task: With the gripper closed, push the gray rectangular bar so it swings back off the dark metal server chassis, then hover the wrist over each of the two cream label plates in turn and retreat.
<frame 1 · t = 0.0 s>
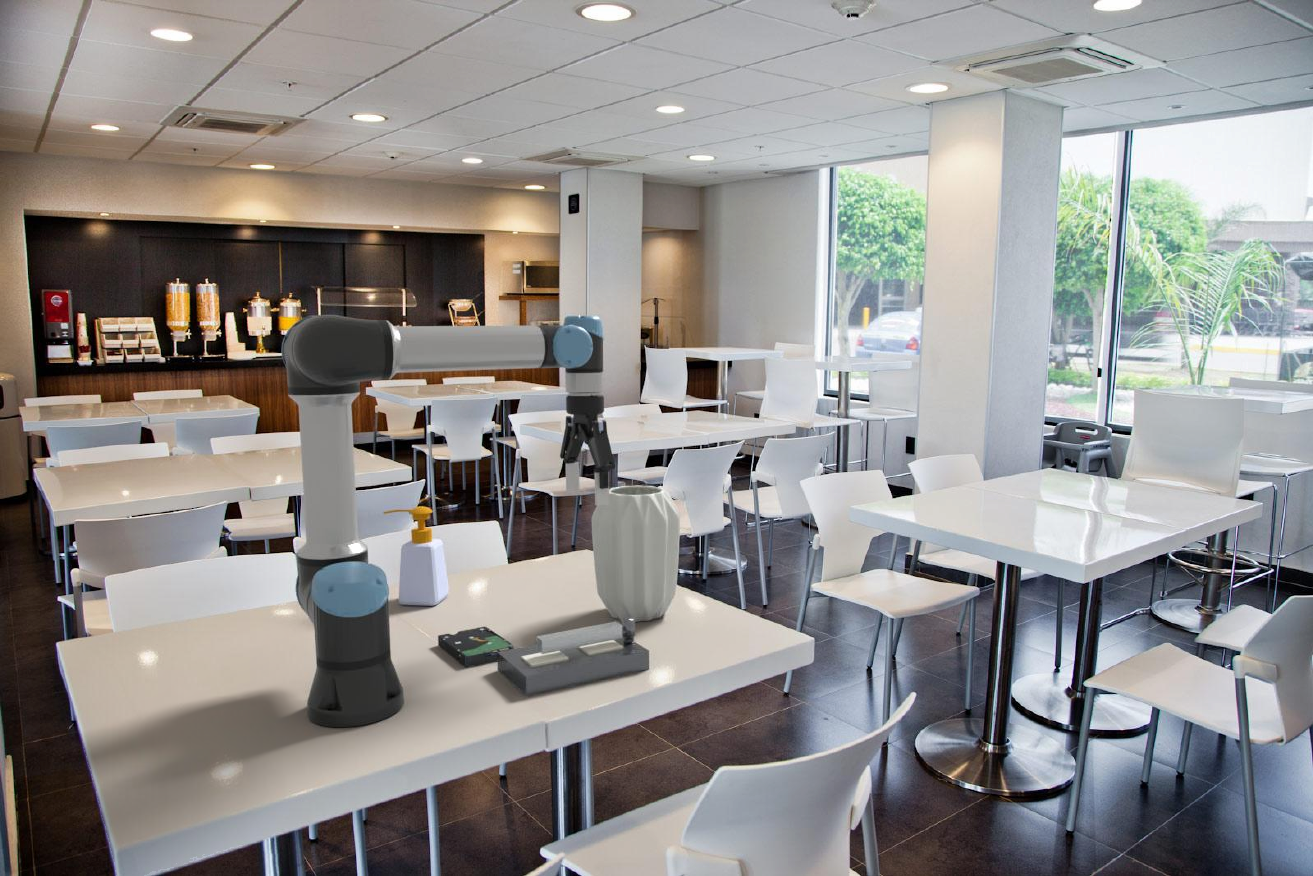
hand: (587, 499, 183), 28 cm above the table, fingers open, 13 cm apart
gray rectangular bar: (588, 635, 166), point 6 cm above the table, hinge at 0.0°
vase: (637, 614, 199), on the table
chassis: (573, 669, 167), on the table
soap bottle: (415, 601, 211), on the table
label A: (544, 659, 162), resting on chassis
label B: (600, 648, 168), resting on chassis
disk drive: (476, 654, 177), on the table
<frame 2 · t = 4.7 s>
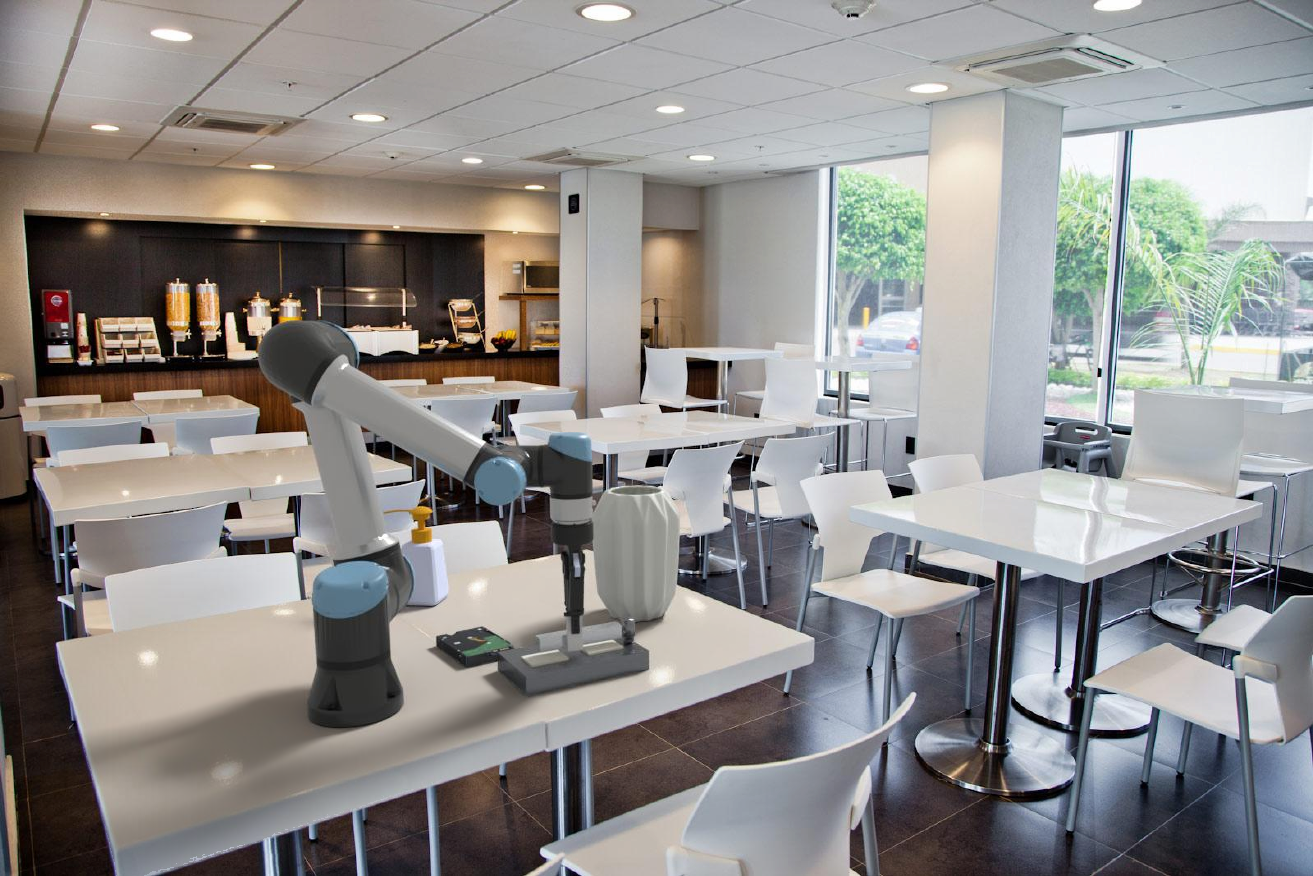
hand: (574, 649, 163), 5 cm above the table, fingers closed
gray rectangular bar: (587, 634, 167), point 6 cm above the table, hinge at 2.5°, touching gripper
everything else where it was.
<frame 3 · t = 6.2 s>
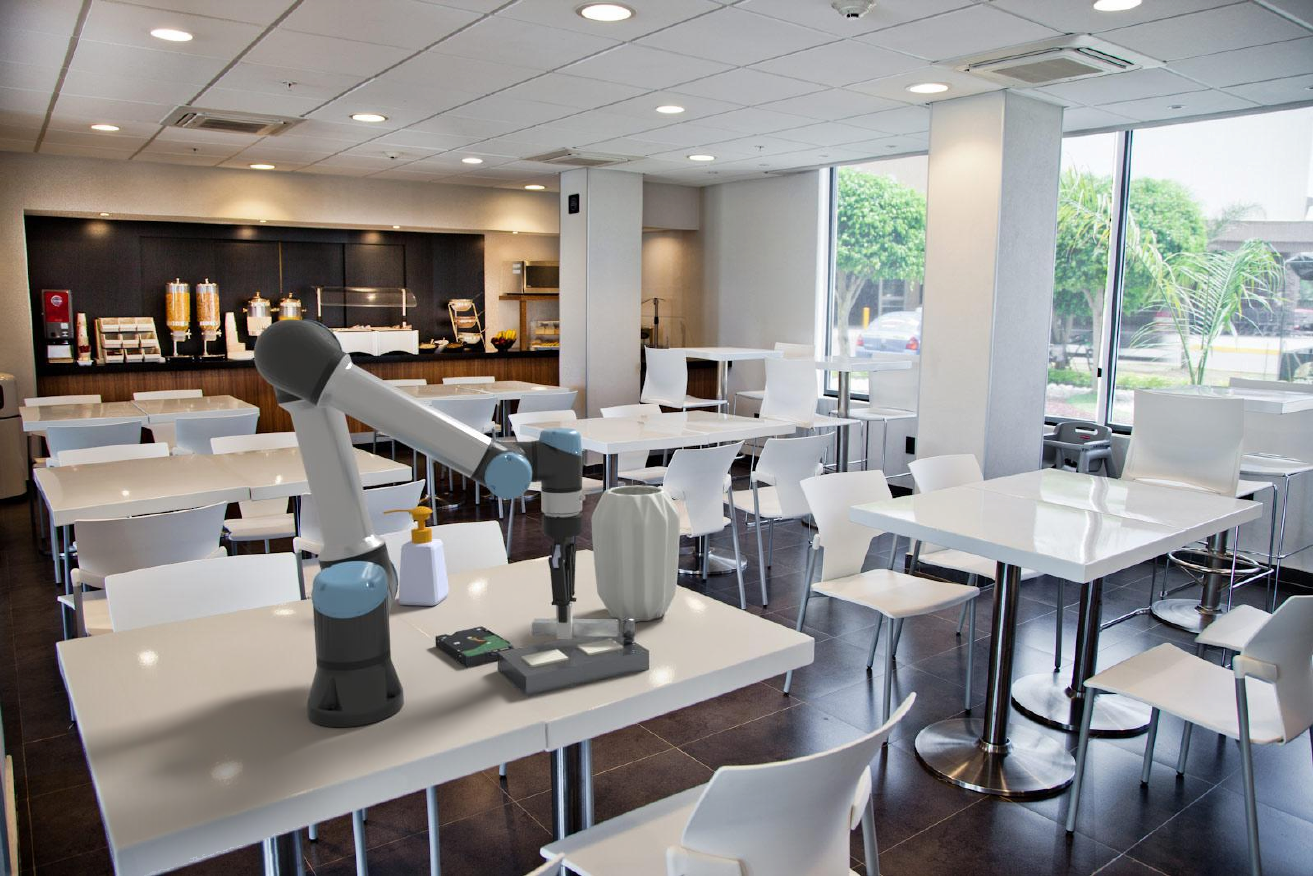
hand: (564, 637, 169), 5 cm above the table, fingers closed
gray rectangular bar: (584, 627, 171), point 6 cm above the table, hinge at 33.6°, touching gripper
everything else where it was.
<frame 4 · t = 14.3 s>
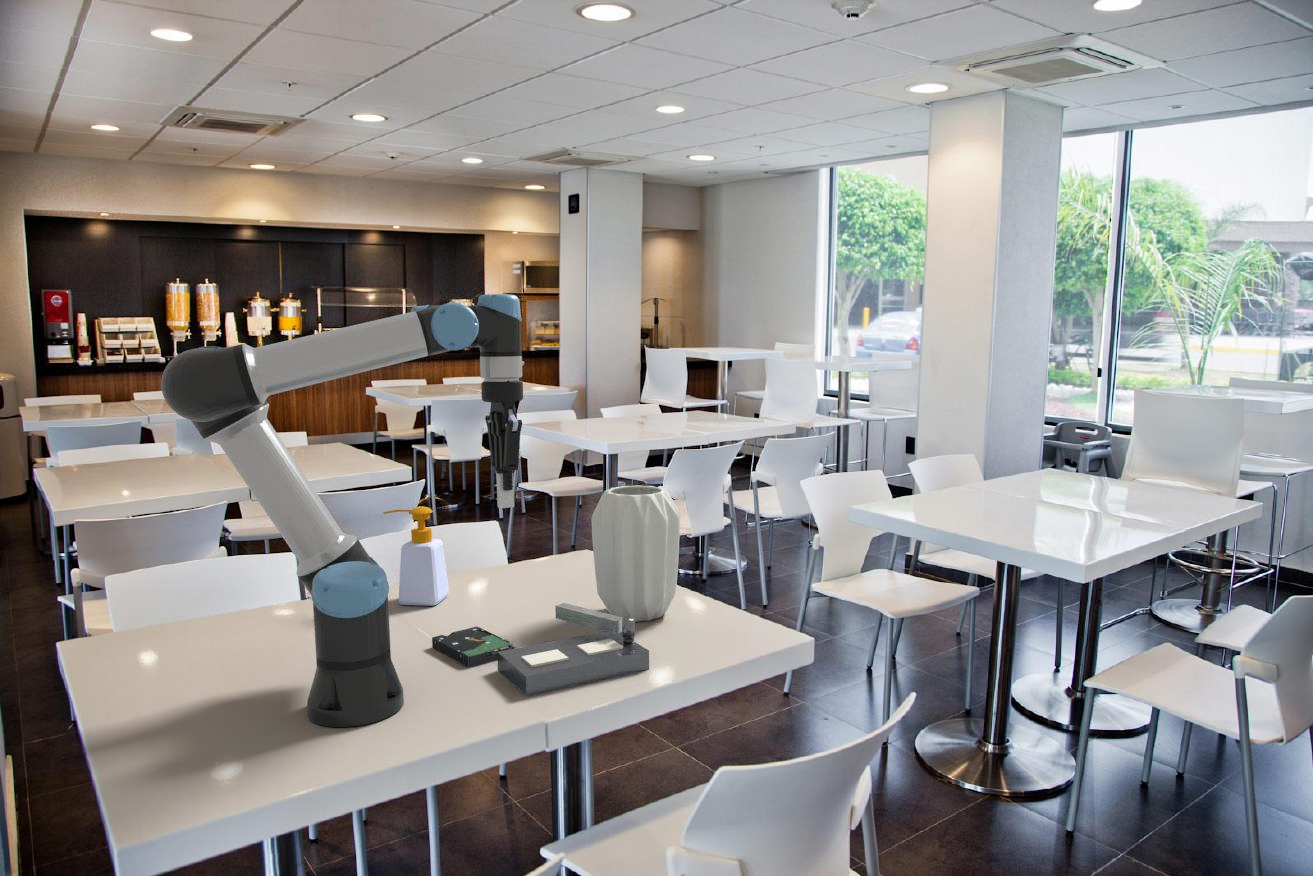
hand: (505, 506, 169), 29 cm above the table, fingers closed
gray rectangular bar: (595, 619, 176), point 6 cm above the table, hinge at 68.6°
everything else where it was.
at the end: gray rectangular bar at +69° (first picture: +0°); gray rectangular bar touching nothing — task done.
